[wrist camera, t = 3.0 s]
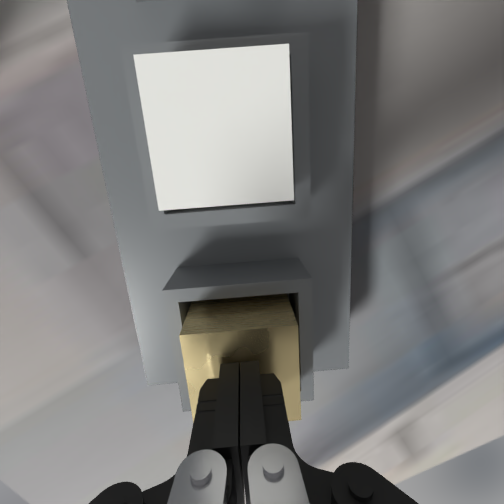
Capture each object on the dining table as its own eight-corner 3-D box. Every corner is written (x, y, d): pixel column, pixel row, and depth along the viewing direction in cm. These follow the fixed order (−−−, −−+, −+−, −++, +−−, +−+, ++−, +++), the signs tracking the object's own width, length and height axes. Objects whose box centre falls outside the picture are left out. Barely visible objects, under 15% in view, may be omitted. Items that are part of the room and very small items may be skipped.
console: (330, -146, 14) (413, -442, 7) (329, 332, 21) (369, 408, 14) (78, -130, 14) (-79, -417, 7) (164, 345, 21) (128, 429, 14)
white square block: (275, 77, 11) (288, 43, 8) (281, 192, 12) (294, 200, 9) (162, 86, 11) (133, 54, 8) (179, 200, 12) (158, 210, 9)
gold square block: (285, 290, 14) (298, 325, 11) (288, 368, 15) (301, 419, 12) (193, 297, 14) (179, 335, 11) (204, 375, 15) (194, 429, 12)
